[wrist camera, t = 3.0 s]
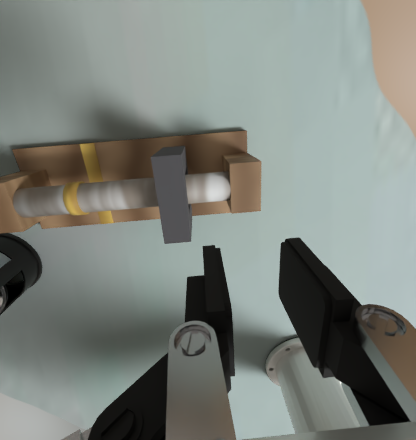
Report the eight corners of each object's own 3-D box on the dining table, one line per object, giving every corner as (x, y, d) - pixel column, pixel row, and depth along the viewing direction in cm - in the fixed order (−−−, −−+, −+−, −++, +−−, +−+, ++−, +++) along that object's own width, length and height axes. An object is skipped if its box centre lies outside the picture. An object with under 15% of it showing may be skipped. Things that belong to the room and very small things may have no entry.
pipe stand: (245, 130, 28) (262, 133, 21) (246, 209, 32) (260, 233, 25) (17, 148, 28) (-45, 157, 21) (45, 226, 32) (2, 256, 25)
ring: (185, 145, 27) (181, 154, 19) (192, 211, 30) (191, 241, 22) (162, 147, 27) (150, 157, 19) (172, 213, 30) (164, 243, 22)
